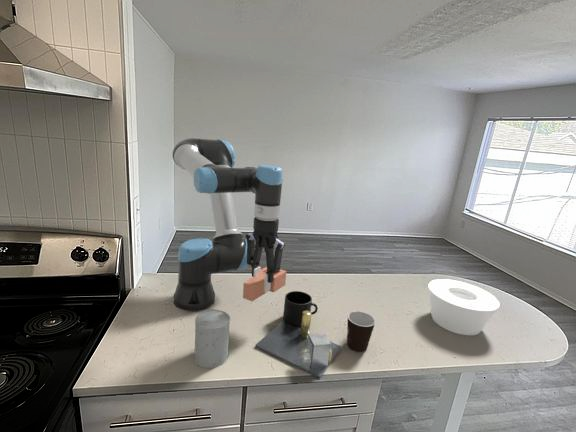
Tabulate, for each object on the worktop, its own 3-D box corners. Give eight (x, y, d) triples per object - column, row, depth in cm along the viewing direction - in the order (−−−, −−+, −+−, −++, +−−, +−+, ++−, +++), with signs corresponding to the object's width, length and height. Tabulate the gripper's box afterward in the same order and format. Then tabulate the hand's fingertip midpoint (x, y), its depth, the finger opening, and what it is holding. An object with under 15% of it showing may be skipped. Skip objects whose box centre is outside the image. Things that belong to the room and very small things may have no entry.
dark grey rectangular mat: (255, 347, 100) (255, 344, 100) (282, 323, 114) (282, 321, 114) (319, 378, 90) (320, 376, 90) (341, 348, 103) (341, 346, 103)
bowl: (487, 316, 131) (494, 289, 128) (495, 350, 110) (505, 318, 107) (423, 299, 141) (429, 274, 138) (420, 327, 119) (427, 297, 116)
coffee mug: (365, 358, 100) (370, 330, 97) (339, 347, 104) (343, 319, 101) (376, 340, 109) (381, 313, 107) (352, 330, 114) (356, 304, 111)
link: (256, 303, 96) (257, 288, 95) (238, 296, 100) (239, 281, 99) (285, 285, 110) (286, 271, 109) (268, 278, 113) (269, 265, 112)
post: (298, 336, 106) (301, 313, 104) (302, 332, 109) (305, 309, 107) (306, 339, 105) (309, 316, 103) (310, 335, 107) (312, 312, 105)
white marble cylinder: (197, 345, 99) (198, 309, 96) (229, 345, 100) (231, 310, 97) (191, 367, 90) (191, 328, 87) (226, 368, 91) (228, 329, 88)
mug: (318, 328, 113) (321, 305, 111) (284, 327, 111) (286, 304, 109) (313, 313, 122) (316, 291, 120) (281, 312, 121) (284, 290, 118)
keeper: (305, 354, 98) (308, 333, 96) (325, 352, 99) (328, 331, 98) (311, 367, 93) (314, 345, 91) (332, 365, 94) (335, 343, 92)
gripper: (236, 214, 99) (233, 285, 105) (283, 225, 91) (276, 301, 97) (252, 210, 105) (248, 277, 111) (296, 221, 97) (289, 292, 103)
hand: (261, 288), depth 104 cm, fingers closed on link, 3 cm apart
